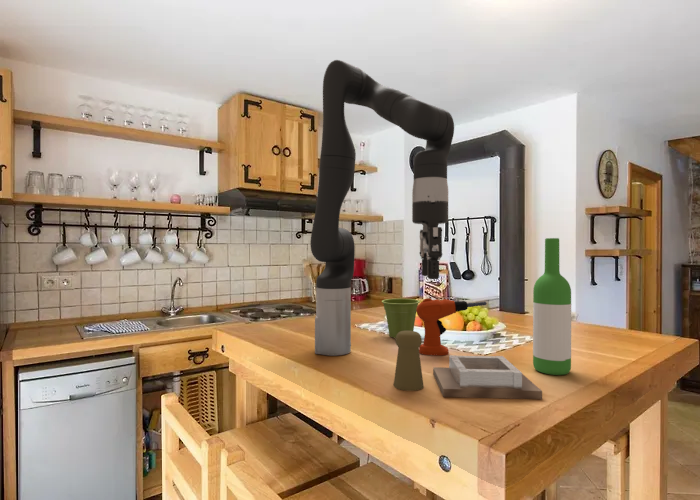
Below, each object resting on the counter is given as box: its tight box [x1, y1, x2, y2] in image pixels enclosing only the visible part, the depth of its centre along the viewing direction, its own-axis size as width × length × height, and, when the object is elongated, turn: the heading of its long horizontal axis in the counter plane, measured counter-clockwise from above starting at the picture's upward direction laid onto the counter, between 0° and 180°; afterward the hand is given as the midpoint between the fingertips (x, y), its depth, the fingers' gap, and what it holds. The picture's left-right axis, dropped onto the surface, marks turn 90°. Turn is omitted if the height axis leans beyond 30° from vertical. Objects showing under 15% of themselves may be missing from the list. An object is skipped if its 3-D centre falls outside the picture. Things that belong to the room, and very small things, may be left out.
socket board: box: [432, 366, 543, 400], centre depth 84 cm, size 18×14×2 cm
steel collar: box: [448, 354, 523, 389], centre depth 84 cm, size 11×12×3 cm
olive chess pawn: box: [393, 330, 425, 392], centre depth 84 cm, size 6×6×11 cm
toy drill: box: [416, 297, 487, 356], centre depth 109 cm, size 5×19×15 cm, turn 82°
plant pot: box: [381, 298, 421, 339], centre depth 130 cm, size 12×12×11 cm
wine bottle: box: [532, 237, 572, 376], centre depth 94 cm, size 8×8×30 cm
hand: (430, 277), depth 88 cm, fingers open, 8 cm apart
